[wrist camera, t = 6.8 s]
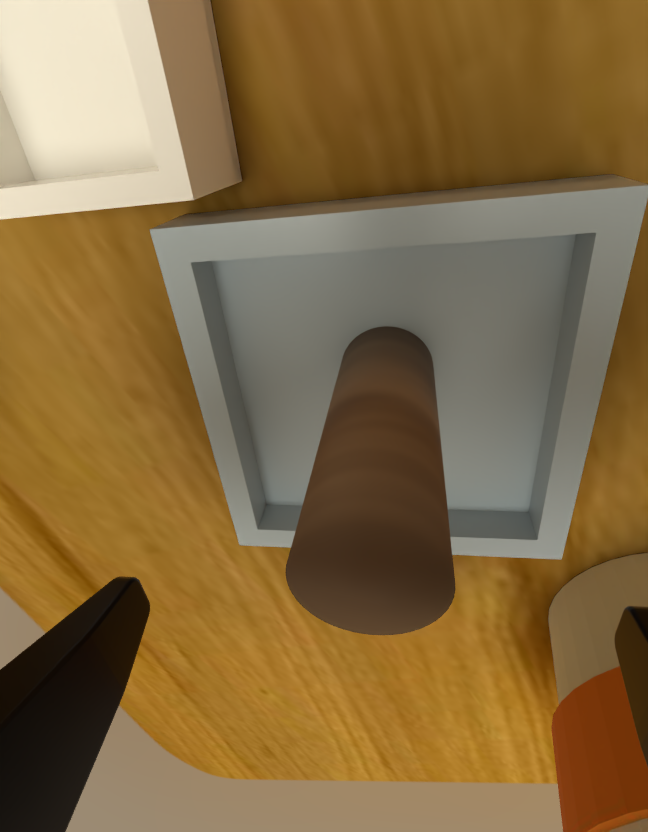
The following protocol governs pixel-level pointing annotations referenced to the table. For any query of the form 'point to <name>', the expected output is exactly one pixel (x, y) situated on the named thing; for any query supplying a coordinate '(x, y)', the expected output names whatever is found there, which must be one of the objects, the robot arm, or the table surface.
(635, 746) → the reusable coffee cup
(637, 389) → the table surface
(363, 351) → the dowel
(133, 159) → the white open box
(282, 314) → the tray
